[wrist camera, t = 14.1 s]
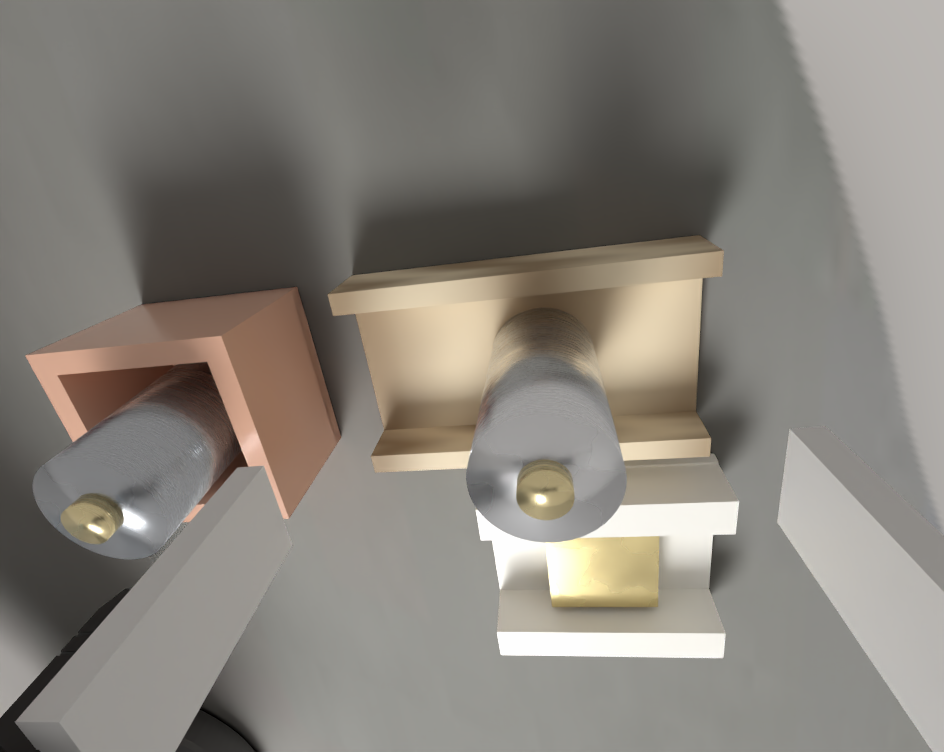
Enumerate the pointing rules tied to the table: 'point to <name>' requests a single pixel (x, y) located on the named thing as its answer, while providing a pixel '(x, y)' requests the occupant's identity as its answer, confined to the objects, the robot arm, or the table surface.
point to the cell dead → (140, 466)
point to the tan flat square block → (604, 572)
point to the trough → (513, 291)
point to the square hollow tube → (233, 368)
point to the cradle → (680, 572)
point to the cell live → (545, 433)
